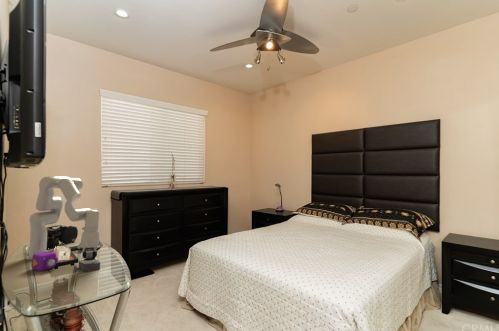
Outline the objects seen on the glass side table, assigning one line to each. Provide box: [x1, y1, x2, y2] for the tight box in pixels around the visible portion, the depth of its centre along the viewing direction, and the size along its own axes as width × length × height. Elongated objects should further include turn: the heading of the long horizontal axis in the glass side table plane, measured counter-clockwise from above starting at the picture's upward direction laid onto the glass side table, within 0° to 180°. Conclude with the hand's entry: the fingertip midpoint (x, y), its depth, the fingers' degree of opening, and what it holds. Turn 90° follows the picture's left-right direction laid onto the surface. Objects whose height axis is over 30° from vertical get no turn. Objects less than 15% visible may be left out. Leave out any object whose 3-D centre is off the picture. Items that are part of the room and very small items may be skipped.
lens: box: [85, 248, 95, 261], centre depth 169 cm, size 5×5×8 cm
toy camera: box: [31, 250, 58, 272], centre depth 165 cm, size 11×14×10 cm
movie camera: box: [45, 224, 79, 250], centre depth 216 cm, size 31×18×18 cm, turn 163°
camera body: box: [78, 256, 101, 273], centre depth 168 cm, size 12×9×6 cm
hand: (89, 257), depth 169 cm, fingers closed on lens, 5 cm apart
